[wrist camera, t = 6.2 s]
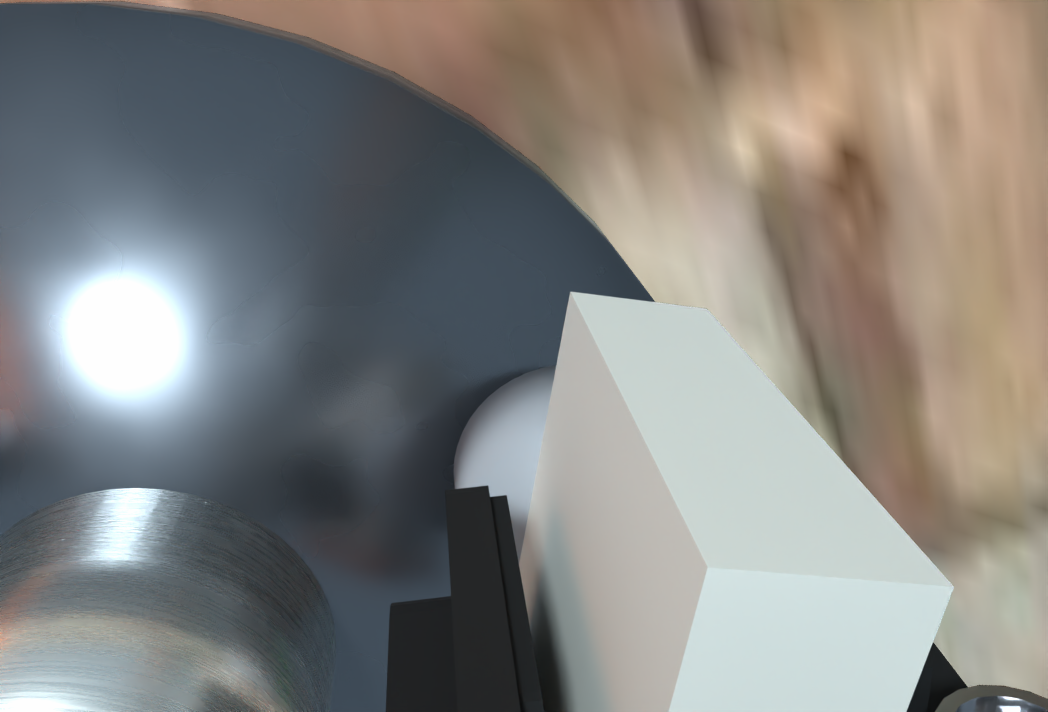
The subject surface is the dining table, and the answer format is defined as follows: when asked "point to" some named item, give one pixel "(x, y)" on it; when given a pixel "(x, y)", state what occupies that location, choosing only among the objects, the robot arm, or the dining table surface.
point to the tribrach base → (244, 353)
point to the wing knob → (694, 530)
